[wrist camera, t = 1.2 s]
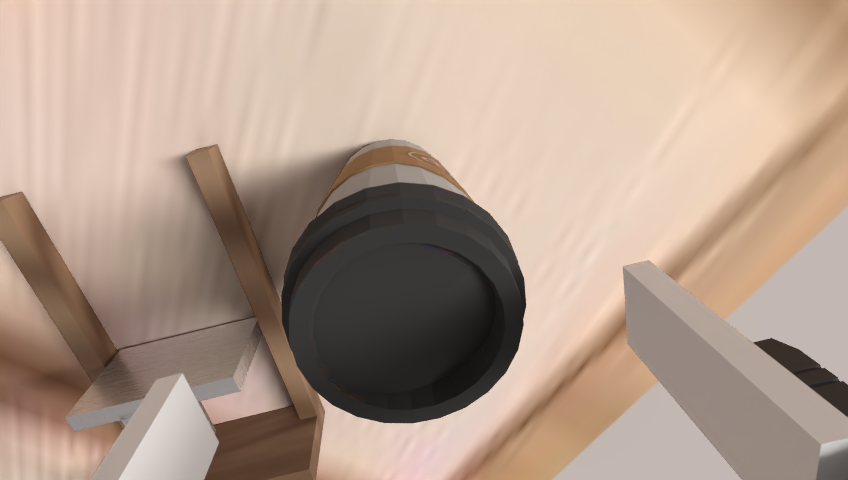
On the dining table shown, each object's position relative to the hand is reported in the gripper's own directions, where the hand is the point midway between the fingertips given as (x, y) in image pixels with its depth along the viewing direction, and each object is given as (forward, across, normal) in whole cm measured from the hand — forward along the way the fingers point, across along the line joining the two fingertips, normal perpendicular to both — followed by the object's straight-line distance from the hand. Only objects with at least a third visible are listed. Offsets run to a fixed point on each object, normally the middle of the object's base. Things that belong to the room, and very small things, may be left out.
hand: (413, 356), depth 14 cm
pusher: (+16, -15, -7) cm, 23 cm away
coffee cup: (+16, 0, 0) cm, 16 cm away
